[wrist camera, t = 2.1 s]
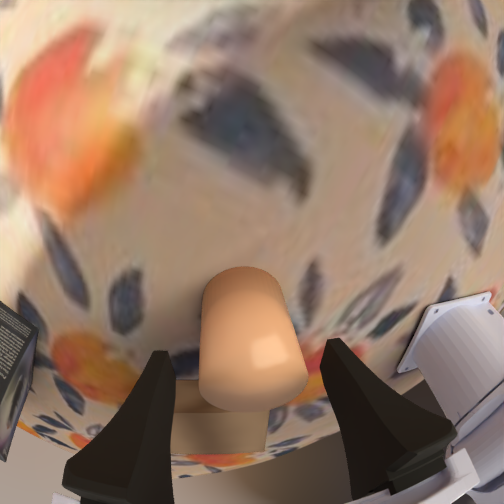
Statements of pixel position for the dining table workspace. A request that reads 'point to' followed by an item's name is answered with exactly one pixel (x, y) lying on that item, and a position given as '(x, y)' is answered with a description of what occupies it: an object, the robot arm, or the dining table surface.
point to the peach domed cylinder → (248, 343)
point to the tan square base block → (213, 425)
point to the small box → (14, 371)
